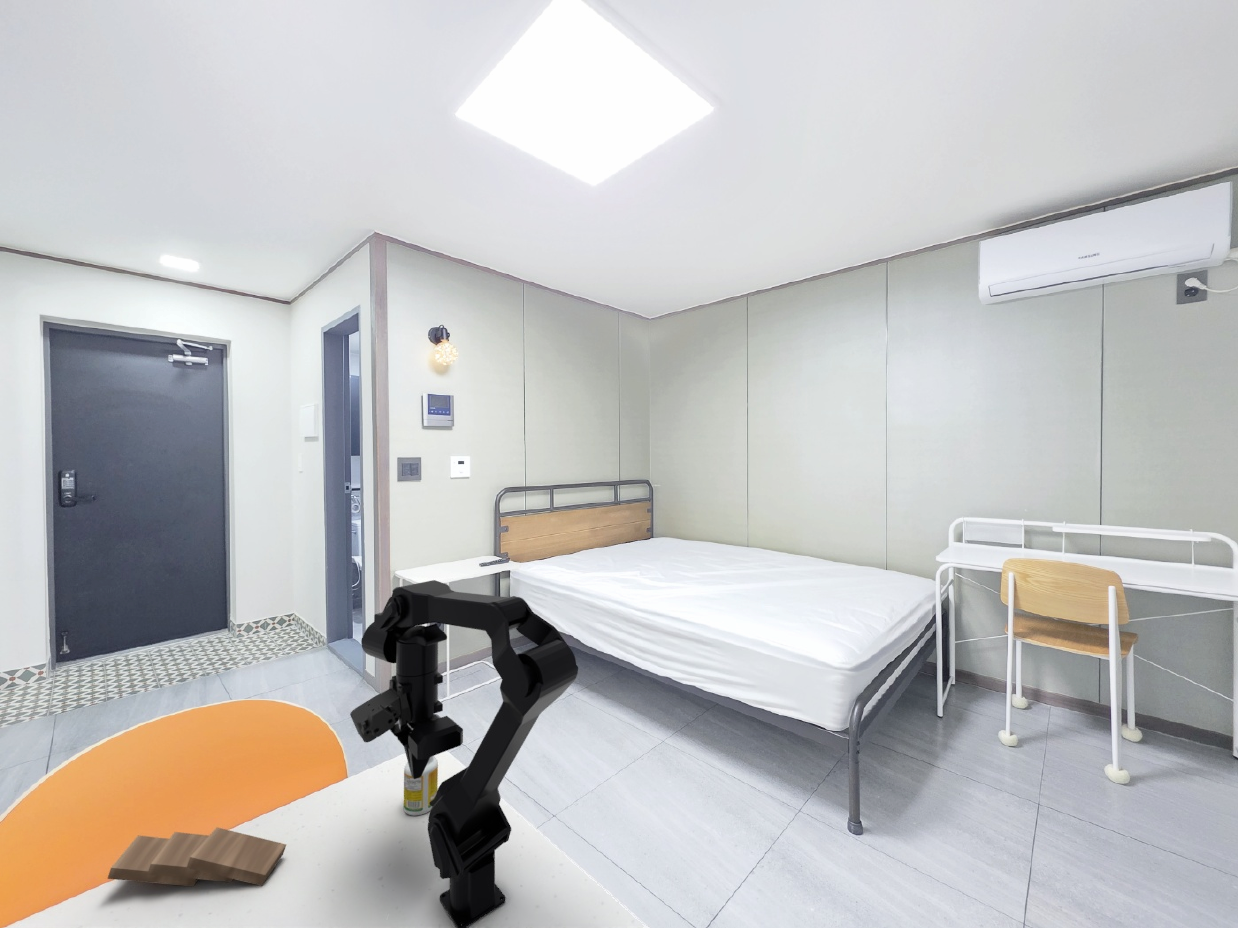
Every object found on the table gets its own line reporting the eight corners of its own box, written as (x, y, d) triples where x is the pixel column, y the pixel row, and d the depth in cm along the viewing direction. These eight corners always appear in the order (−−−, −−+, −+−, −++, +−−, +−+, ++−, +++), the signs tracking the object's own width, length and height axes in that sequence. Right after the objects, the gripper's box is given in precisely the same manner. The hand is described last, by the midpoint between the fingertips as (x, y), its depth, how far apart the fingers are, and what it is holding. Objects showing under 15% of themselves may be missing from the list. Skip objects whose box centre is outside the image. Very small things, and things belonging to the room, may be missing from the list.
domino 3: (286, 844, 73) (216, 827, 72) (265, 874, 68) (190, 856, 67) (283, 854, 73) (213, 837, 72) (261, 885, 68) (186, 867, 67)
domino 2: (252, 839, 73) (174, 831, 70) (234, 871, 68) (150, 863, 66) (248, 849, 73) (171, 841, 71) (231, 881, 68) (147, 874, 66)
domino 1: (217, 843, 72) (138, 835, 70) (196, 875, 68) (110, 867, 65) (213, 853, 73) (134, 845, 70) (193, 885, 68) (107, 878, 65)
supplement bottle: (408, 821, 80) (408, 761, 81) (399, 803, 85) (400, 746, 85) (441, 807, 84) (442, 750, 84) (432, 791, 88) (432, 736, 88)
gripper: (340, 665, 74) (339, 770, 74) (377, 708, 60) (376, 838, 60) (415, 648, 82) (415, 743, 81) (464, 682, 68) (464, 798, 67)
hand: (416, 776), depth 72 cm, fingers closed
